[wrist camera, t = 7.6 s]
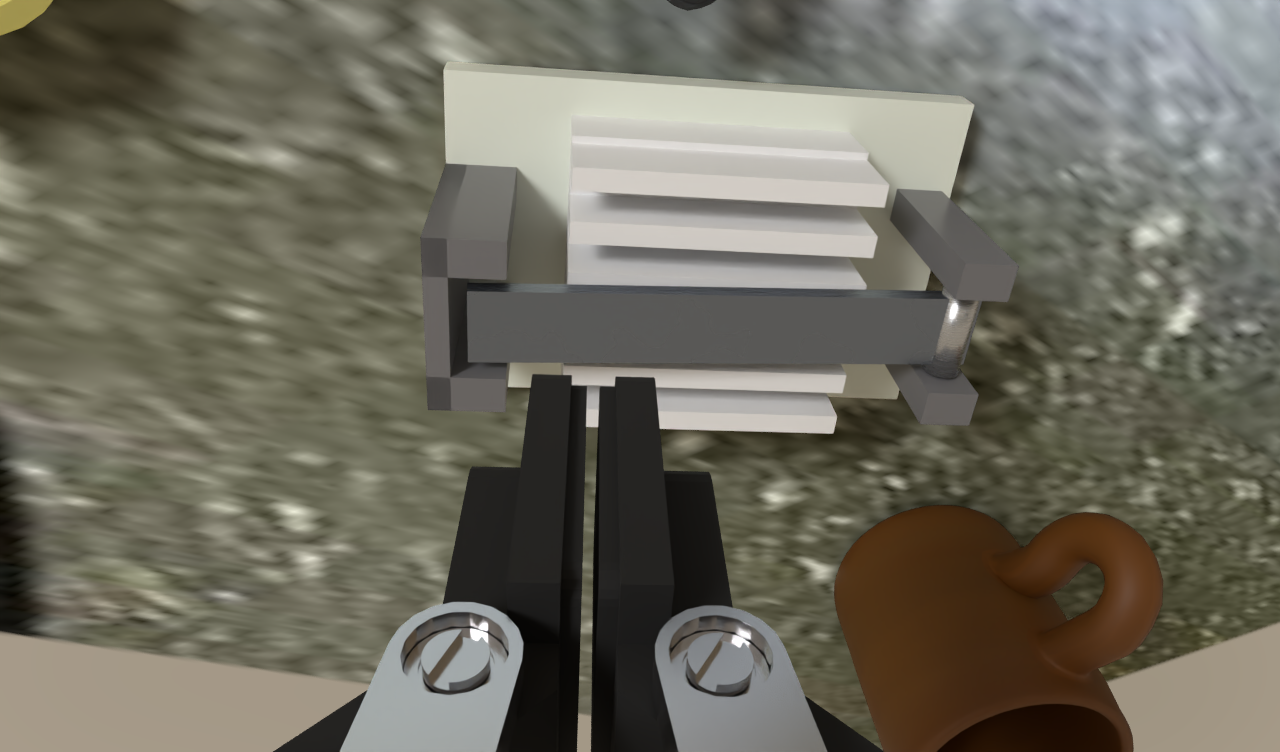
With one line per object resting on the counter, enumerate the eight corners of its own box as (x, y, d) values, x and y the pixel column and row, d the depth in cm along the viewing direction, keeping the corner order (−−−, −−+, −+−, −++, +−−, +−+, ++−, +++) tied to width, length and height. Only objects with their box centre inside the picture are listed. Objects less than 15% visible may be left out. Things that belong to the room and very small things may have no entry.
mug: (947, 379, 33) (1073, 562, 24) (1119, 436, 34) (1289, 624, 26) (795, 615, 38) (858, 828, 30) (952, 653, 40) (1050, 864, 32)
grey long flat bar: (972, 277, 25) (990, 293, 24) (949, 360, 26) (964, 378, 26) (467, 267, 23) (466, 284, 22) (468, 358, 24) (467, 377, 23)
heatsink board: (961, 95, 27) (1063, 165, 22) (888, 383, 32) (955, 500, 27) (447, 61, 26) (415, 126, 20) (455, 369, 31) (431, 489, 25)
